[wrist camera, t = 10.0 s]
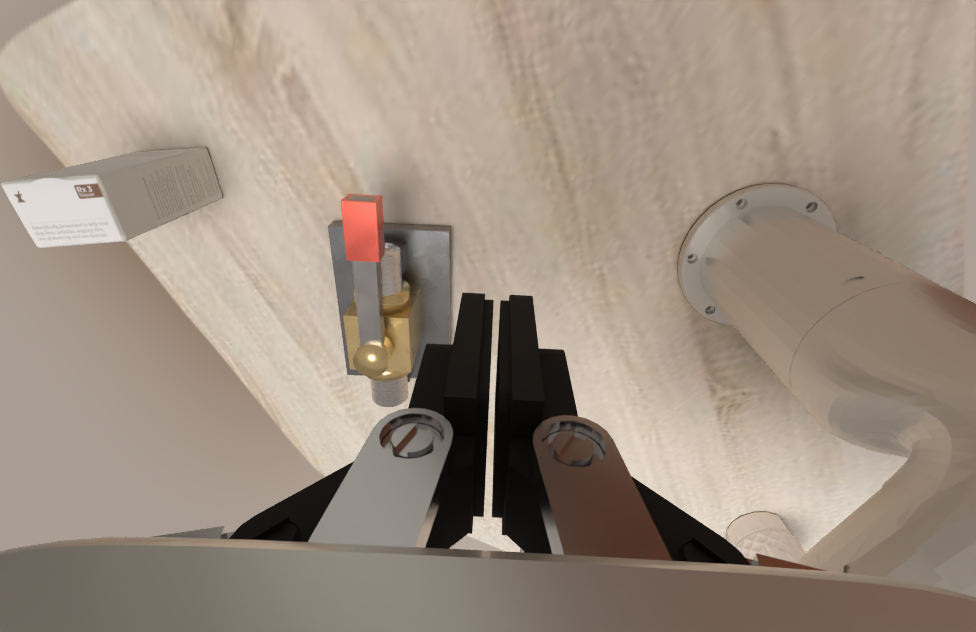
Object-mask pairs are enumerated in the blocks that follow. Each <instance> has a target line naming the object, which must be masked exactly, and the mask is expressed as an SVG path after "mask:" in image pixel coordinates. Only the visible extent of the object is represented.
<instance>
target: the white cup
mask: <svg viewBox="0 0 976 632" xmlns="http://www.w3.org/2000/svg"><path fill="white" fill-rule="evenodd" d="M727 540H728V542H729V543H731V544H732V545H733V546H734V547H736V548H737V549H738V550H739V551H740V552H741V553H742V554H743V556H744V557H745V558H748V559H752V560H753V559H754V557H755V554H756V553H757V554H761V555H765V556H769V557H773V558H777V559H781V560H785V561H789V562H793V563H798V561H799V560H800V559H801V558H802V557H803V556H804V555H805V554H806V553H805V551H804V550H803V548H802V547H801V546H800V544H799V542H798V541H797V540H796V538H794V537H793V535H792V534H791V532H790V531H789V529H788V528H787V526H786V525H785V523H784V522H783V521H782V520H781V519H780V517H779V516H777V515H774V514H771V513H768V512H753V513H750V514H747V515H743V516H741V517H739V518H738V519H736V520H735V521H733V522H732V523H731V525H730V526H729V528H728V529H727Z"/></svg>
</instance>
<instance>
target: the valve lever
mask: <svg viewBox="0 0 976 632" xmlns="http://www.w3.org/2000/svg"><path fill="white" fill-rule="evenodd" d="M341 209H342V219H343V229H344V239H345V249H346V259H347V260H349V261H352V263H353V274H354V285H355V295H356V306H357V317H358V327H359V338H360V345H359V347H358V349H357V351H356V353H355V355H354V357H353V364H354V367H355V368H356V370H357V371H358V372H359V373H361V374H363V375H365V376H368V377H377V376H380V375H382V374H383V373H384V372H385V371H386V370H387V367H388V365H389V362H390V359H391V357H392V354H393V351H394V348H393V344H392V342H391V341H390V340H389V339H388V338H387V337H386V336H385V326H384V310H383V294H382V278H381V262H380V261H381V259H382V257H383V256H384V254H385V242H384V224H383V206H382V196H374V195H357V194H348V195H347V196H346V197H345V198H343V199H342V200H341Z"/></svg>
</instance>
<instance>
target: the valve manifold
mask: <svg viewBox="0 0 976 632" xmlns="http://www.w3.org/2000/svg"><path fill="white" fill-rule="evenodd" d="M383 224H384V242H385V254H384V256H383V257H382V259H381V261H380V262H381V278H382V294H383V310H384V326H385V336H386V337H387V338H388V339H389V340H390V341H391V342H392V344H393V348H394V351H393V354H392V357H391V359H390V362H389V365H388V367H387V370H386V371H385V372H384V373H383V374H382V375H380V376H377V377H368V376H367V377H368V378H370V379H371V389H372V398H373V401H374V402H375V403H376V404H378V405H380V406H384V407H393V406H397V405H399V404H401V403H403V402H404V401H405V400H406V399H407V398H408V382H410V379H411V378H417V375H418V371H419V368H420V364H421V361H422V357H423V353H424V350H425V346H426V344H427V343H430V344H451V226H435V225H413V224H391V223H383ZM328 230H329V237H330V245H331V253H332V260H333V268H334V276H335V283H336V291H337V298H338V306H339V314H340V321H341V329H342V337H343V344H344V352H345V360H346V367H347V375H363V374H361V373H359V372H358V371H357V370H356V368H355V367H354V364H353V357H354V355H355V353H356V351H357V349H358V347H359V345H360V338H359V327H358V317H357V306H356V295H355V285H354V274H353V263H352V261H349V260H347V259H346V249H345V239H344V229H343V221H333V222H332V223H331V224H330V225H329V226H328Z"/></svg>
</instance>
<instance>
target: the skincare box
mask: <svg viewBox="0 0 976 632" xmlns="http://www.w3.org/2000/svg"><path fill="white" fill-rule="evenodd" d="M2 187H3V189H4V191H5V193H6V195H7V197H8V198H9V200H10V202H11V204H12V205H13V207H14V209H15V210H16V212H17V214H18V216H19V217H20V219H21V221H22V223H23V225H24V226H25V228H26V230H27V231H28V233H29V235H30V236H31V238H32V239H33V240H34V242H35V244H36V245H37V247H39V248H45V247H55V246H56V247H57V246H69V245H82V244H95V243H106V242H119V241H127V240H129V239H131V238H134V237H136V236H138V235H140V234H142V233H145V232H147V231H150V230H152V229H155V228H157V227H159V226H161V225H164V224H166V223H168V222H170V221H173V220H175V219H177V218H179V217H181V216H184V215H186V214H188V213H190V212H193V211H195V210H197V209H199V208H202V207H204V206H206V205H208V204H210V203H213V202H215V201H217V200H219V199H222V192H221V189H220V185H219V182H218V179H217V176H216V173H215V170H214V167H213V164H212V161H211V158H210V155H209V153H208V150H207V149H206V148H205V147H200V148H186V149H171V150H157V151H142V152H134V153H129V154H124V155H120V156H115V157H111V158H107V159H102V160H98V161H93V162H89V163H85V164H80V165H76V166H71V167H67V168H63V169H58V170H53V171H49V172H44V173H39V174H35V175H30V176H26V177H21V178H17V179H13V180H9V181H5V182H3V183H2Z"/></svg>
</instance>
